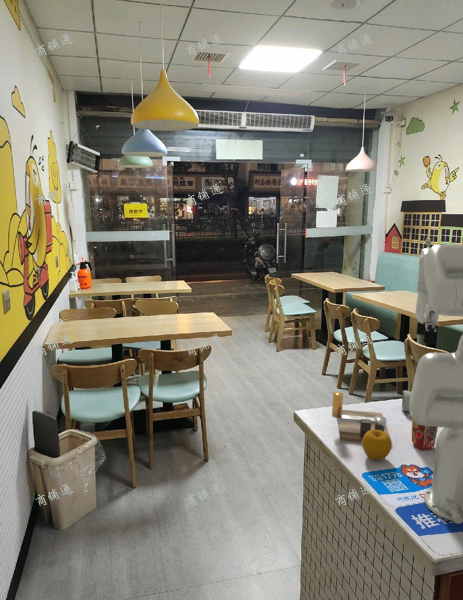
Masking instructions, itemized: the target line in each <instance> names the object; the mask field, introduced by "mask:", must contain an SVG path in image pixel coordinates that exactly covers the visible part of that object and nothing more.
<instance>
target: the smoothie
mask: <svg viewBox="0 0 463 600" xmlns="http://www.w3.org/2000/svg"><path fill="white" fill-rule="evenodd" d="M411 423H412V424H411V442H412V444H413V446H414V447H415V448H416V449H418V450H420V451H431V450H433V448H434V447H436V441H437V436H438V435H437V433H438V428H439V427H432V426H423V425H419V424H417V423H415V422H414V421H413V420H412V419H411Z"/></svg>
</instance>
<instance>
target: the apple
mask: <svg viewBox="0 0 463 600" xmlns="http://www.w3.org/2000/svg"><path fill="white" fill-rule="evenodd" d="M389 436H390V434H389V435H388V434H386V433H385V432H383V431H381V430H369V431H367V432H366V433H365V435H364V437H363V440H362V443H361V446H362V448H363V451H364V453H365V455H366V456H367V457H368V459H371V460H372V461H383V460H384V459H385V458H386V457H388V456H389V454H390V453H391V450H392V440H391V437H389Z"/></svg>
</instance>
